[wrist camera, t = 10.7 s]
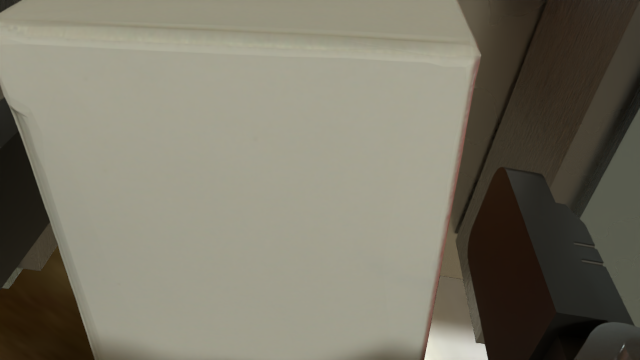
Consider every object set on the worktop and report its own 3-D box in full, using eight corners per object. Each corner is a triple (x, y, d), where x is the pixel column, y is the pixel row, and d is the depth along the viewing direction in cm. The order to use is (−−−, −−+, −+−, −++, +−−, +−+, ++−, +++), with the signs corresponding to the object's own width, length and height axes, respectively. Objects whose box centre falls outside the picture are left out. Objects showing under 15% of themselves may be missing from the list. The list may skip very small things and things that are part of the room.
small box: (389, 157, 19) (410, 467, 10) (223, 148, 19) (108, 445, 10) (418, -110, 14) (500, 48, 6) (199, -117, 15) (-41, 24, 6)
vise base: (1066, -196, 14) (1513, -184, 8) (695, 290, 23) (792, 438, 18) (-191, -437, 13) (-594, -600, 7) (-33, 175, 22) (-156, 297, 17)
